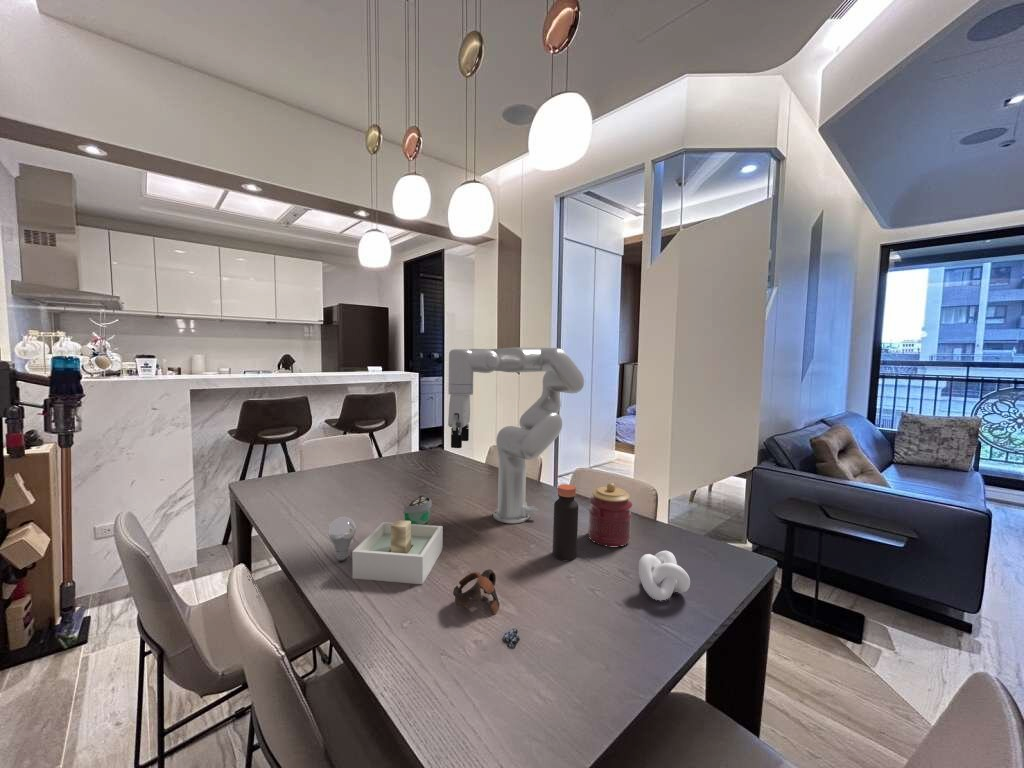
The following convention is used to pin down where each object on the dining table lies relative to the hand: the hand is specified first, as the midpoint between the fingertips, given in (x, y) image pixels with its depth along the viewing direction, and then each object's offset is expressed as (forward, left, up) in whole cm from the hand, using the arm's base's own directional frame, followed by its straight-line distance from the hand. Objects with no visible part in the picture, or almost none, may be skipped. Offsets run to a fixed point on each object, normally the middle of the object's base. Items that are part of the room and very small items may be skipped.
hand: (460, 444), depth 130 cm
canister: (-47, -3, -28) cm, 55 cm away
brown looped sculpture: (-13, +36, -29) cm, 48 cm away
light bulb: (+27, +22, -28) cm, 45 cm away
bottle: (-33, +10, -28) cm, 45 cm away
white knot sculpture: (-56, +24, -29) cm, 67 cm away
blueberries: (-22, +46, -29) cm, 59 cm away
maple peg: (+11, +21, -27) cm, 36 cm away
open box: (+11, +21, -28) cm, 37 cm away
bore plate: (+11, +21, -28) cm, 37 cm away
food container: (+12, +1, -28) cm, 31 cm away
